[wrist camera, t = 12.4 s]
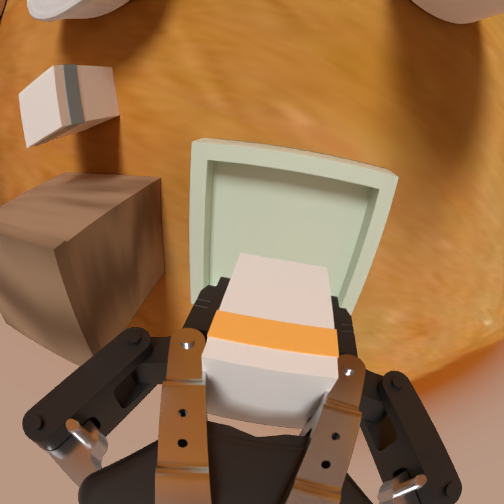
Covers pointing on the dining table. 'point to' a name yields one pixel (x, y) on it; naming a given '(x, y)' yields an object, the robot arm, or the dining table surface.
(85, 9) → the ramekin
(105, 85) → the grey-banded white cube
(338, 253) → the tray
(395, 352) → the dining table surface
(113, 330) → the brown box
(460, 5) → the pill bottle
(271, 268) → the block
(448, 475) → the robot arm
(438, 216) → the dining table surface
